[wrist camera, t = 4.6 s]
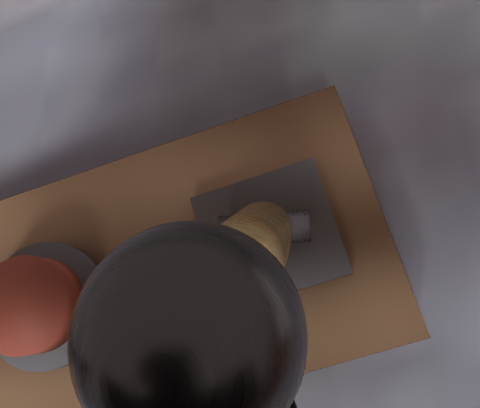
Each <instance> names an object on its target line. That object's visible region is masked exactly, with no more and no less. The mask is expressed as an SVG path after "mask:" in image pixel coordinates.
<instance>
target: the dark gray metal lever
mask: <svg viewBox="0 0 480 408" xmlns="http://www.w3.org/2000/svg"><path fill="white" fill-rule="evenodd" d="M307 242H312V240H311V225H310V213H309V209H307V210H294V211H285V210H284V209H283V208H281V207H280V206H278V205H276V204H274V203H271V202H267V201H259V202H254V203H251V204H249V205H247V206H246V207H244V208H243V209H241V210H240V211H239V212H237V213H236V214H234V215H224V216H218V219H217V223H214V222H208V221H201V220H182V221H175V222H168V223H164V224H160V225H157V226H153V227H150V228H148V229H146V230H143V231H141V232H139V233H137V234H135V235H134V236H132V237H130V238H129V239H127V240H125V241H124V242H122V243H121V244H119V245H118V246H117V247H116V248H114V249H113V250H112V251H111V252H110V253H108V254H107V256H106V257H105V258H104V259H103V260H102V261H101V262H100V263H99V264H98V266H97V267H96V268H95V269H94V270H93V272H92V273H91V275H90V276H89V278H88V279H87V280H86V282H85V284H84V286H83V288H82V290H81V292H80V294H79V296H78V299H77V301H76V304H75V306H74V309H73V312H72V316H71V321H70V326H69V332H68V345H67V354H68V365H69V371H70V376H71V381H72V384H73V387H74V390H75V394H76V396H77V398H78V401H79V403H80V405H81V407H82V408H290V406H291V404H292V403H293V401H294V399H295V397H296V394H297V392H298V390H299V387H300V385H301V382H302V378H303V374H304V371H305V366H306V360H307V352H308V330H307V323H306V317H305V311H304V308H303V304H302V301H301V297H300V295H299V293H298V291H297V288H296V286H295V284H294V282H293V280H292V279H291V277H290V275H289V274H288V272H287V271H286V269H285V266H286V262H287V258H288V254H289V250H290V246H291V243H307Z"/></svg>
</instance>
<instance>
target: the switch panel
mask: <svg viewBox="0 0 480 408" xmlns="http://www.w3.org/2000/svg"><path fill="white" fill-rule="evenodd" d="M259 201H267V202H271V203H274V204H276V205H278V206H280V207H281V208H283V209H284V210H285V211H294V210H307V209H309V213H310V225H311V240H312V242H307V243H291V246H290V250H289V254H288V258H287V262H286V266H285V269H286V271H287V272H288V274H289V275H290V277H291V279H292V280H293V282H294V284H295V286H296V288H297V291H298V293H299V295H300V297H301V301H302V304H303V308H304V311H305V317H306V323H307V330H308V352H307V360H306V366H305V371H304V373H307V372H310V371H314V370H317V369H321V368H325V367H328V366H332V365H335V364H339V363H342V362H346V361H349V360H353V359H356V358H360V357H364V356H367V355H371V354H374V353H378V352H381V351H385V350H388V349H392V348H395V347H399V346H403V345H406V344H410V343H413V342H417V341H420V340H424V339H427V338H430V336H429V333H428V330H427V328H426V325H425V323H424V320H423V317H422V315H421V312H420V309H419V307H418V304H417V302H416V299H415V296H414V294H413V291H412V288H411V286H410V283H409V281H408V278H407V275H406V273H405V270H404V267H403V265H402V262H401V260H400V257H399V254H398V252H397V249H396V246H395V244H394V241H393V238H392V236H391V233H390V231H389V228H388V225H387V223H386V220H385V217H384V215H383V212H382V210H381V207H380V204H379V202H378V199H377V196H376V194H375V191H374V189H373V186H372V183H371V181H370V178H369V175H368V173H367V170H366V168H365V165H364V162H363V160H362V157H361V154H360V152H359V149H358V146H357V144H356V141H355V139H354V136H353V133H352V131H351V128H350V125H349V123H348V120H347V118H346V115H345V112H344V110H343V107H342V104H341V102H340V99H339V97H338V94H337V91H336V89H335V86H331V87H328V88H325V89H322V90H319V91H316V92H314V93H311V94H308V95H305V96H302V97H299V98H296V99H293V100H290V101H287V102H285V103H282V104H279V105H276V106H273V107H270V108H267V109H264V110H261V111H259V112H256V113H253V114H250V115H247V116H244V117H241V118H238V119H235V120H232V121H230V122H227V123H224V124H221V125H218V126H215V127H212V128H209V129H206V130H203V131H201V132H198V133H195V134H192V135H189V136H186V137H183V138H180V139H177V140H174V141H172V142H169V143H166V144H163V145H160V146H157V147H154V148H151V149H148V150H146V151H143V152H140V153H137V154H134V155H131V156H128V157H125V158H122V159H119V160H117V161H114V162H111V163H108V164H105V165H102V166H99V167H96V168H93V169H90V170H88V171H85V172H82V173H79V174H76V175H73V176H70V177H67V178H64V179H62V180H59V181H56V182H53V183H50V184H47V185H44V186H41V187H38V188H35V189H33V190H30V191H27V192H24V193H21V194H18V195H15V196H12V197H9V198H6V199H4V200H1V201H0V408H82V407H81V405H80V403H79V401H78V398H77V396H76V394H75V390H74V387H73V384H72V381H71V376H70V371H69V365H68V354H67V345H68V332H69V326H70V321H71V316H72V312H73V309H74V306H75V304H76V301H77V299H78V296H79V294H80V292H81V290H82V288H83V286H84V284H85V282H86V280H87V279H88V278H89V276H90V275H91V273H92V272H93V270H94V269H95V268H96V267H97V266H98V264H99V263H100V262H101V261H102V260H103V259H104V258H105V257H106V256H107V254H108V253H110V252H111V251H112V250H113V249H114V248H116V247H117V246H118V245H119V244H121V243H122V242H124V241H125V240H127V239H129V238H130V237H132V236H134V235H135V234H137V233H139V232H141V231H143V230H146V229H148V228H150V227H153V226H157V225H160V224H164V223H168V222H175V221H182V220H201V221H208V222H214V223H217V219H218V216H224V215H234V214H236V213H237V212H239V211H240V210H241V209H243V208H244V207H246V206H247V205H249V204H251V203H254V202H259Z"/></svg>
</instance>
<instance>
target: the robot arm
mask: <svg viewBox="0 0 480 408" xmlns="http://www.w3.org/2000/svg"><path fill="white" fill-rule="evenodd" d="M290 408H297V406H296V403H295V401H293V403H292V404H291V406H290Z"/></svg>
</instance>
